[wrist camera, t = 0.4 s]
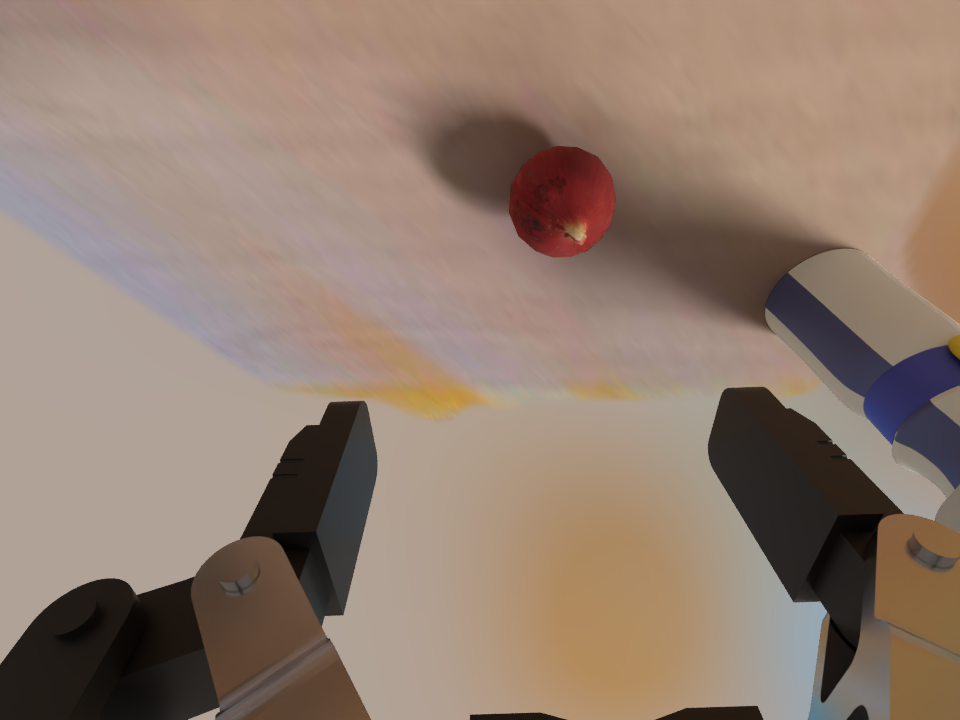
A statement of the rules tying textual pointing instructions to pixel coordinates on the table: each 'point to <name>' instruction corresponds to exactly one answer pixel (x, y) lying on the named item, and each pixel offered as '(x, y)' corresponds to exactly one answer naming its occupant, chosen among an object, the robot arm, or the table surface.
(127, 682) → the robot arm
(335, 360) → the table surface
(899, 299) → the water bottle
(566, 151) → the onion
